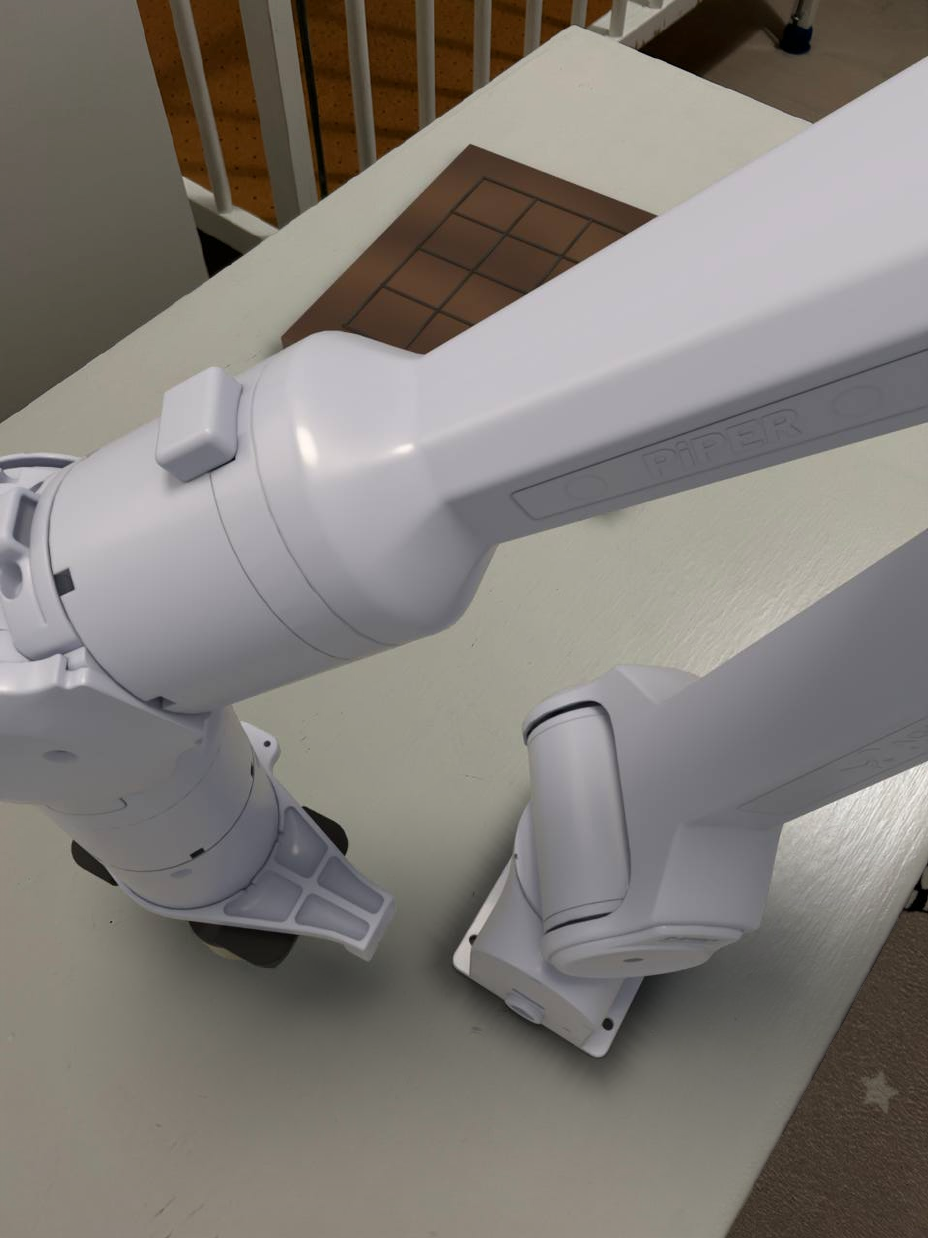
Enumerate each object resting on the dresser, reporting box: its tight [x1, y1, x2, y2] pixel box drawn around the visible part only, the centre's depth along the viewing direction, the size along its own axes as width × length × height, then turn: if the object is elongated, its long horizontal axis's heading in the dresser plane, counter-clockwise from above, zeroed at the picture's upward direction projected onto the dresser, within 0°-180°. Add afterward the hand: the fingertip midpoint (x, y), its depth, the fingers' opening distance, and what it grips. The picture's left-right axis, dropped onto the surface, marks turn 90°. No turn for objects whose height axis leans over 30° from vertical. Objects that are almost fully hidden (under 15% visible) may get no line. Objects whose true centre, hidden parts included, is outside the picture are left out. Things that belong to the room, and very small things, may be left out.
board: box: [280, 143, 659, 355], centre depth 66 cm, size 24×24×2 cm
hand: (246, 892), depth 41 cm, fingers closed on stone, 4 cm apart
